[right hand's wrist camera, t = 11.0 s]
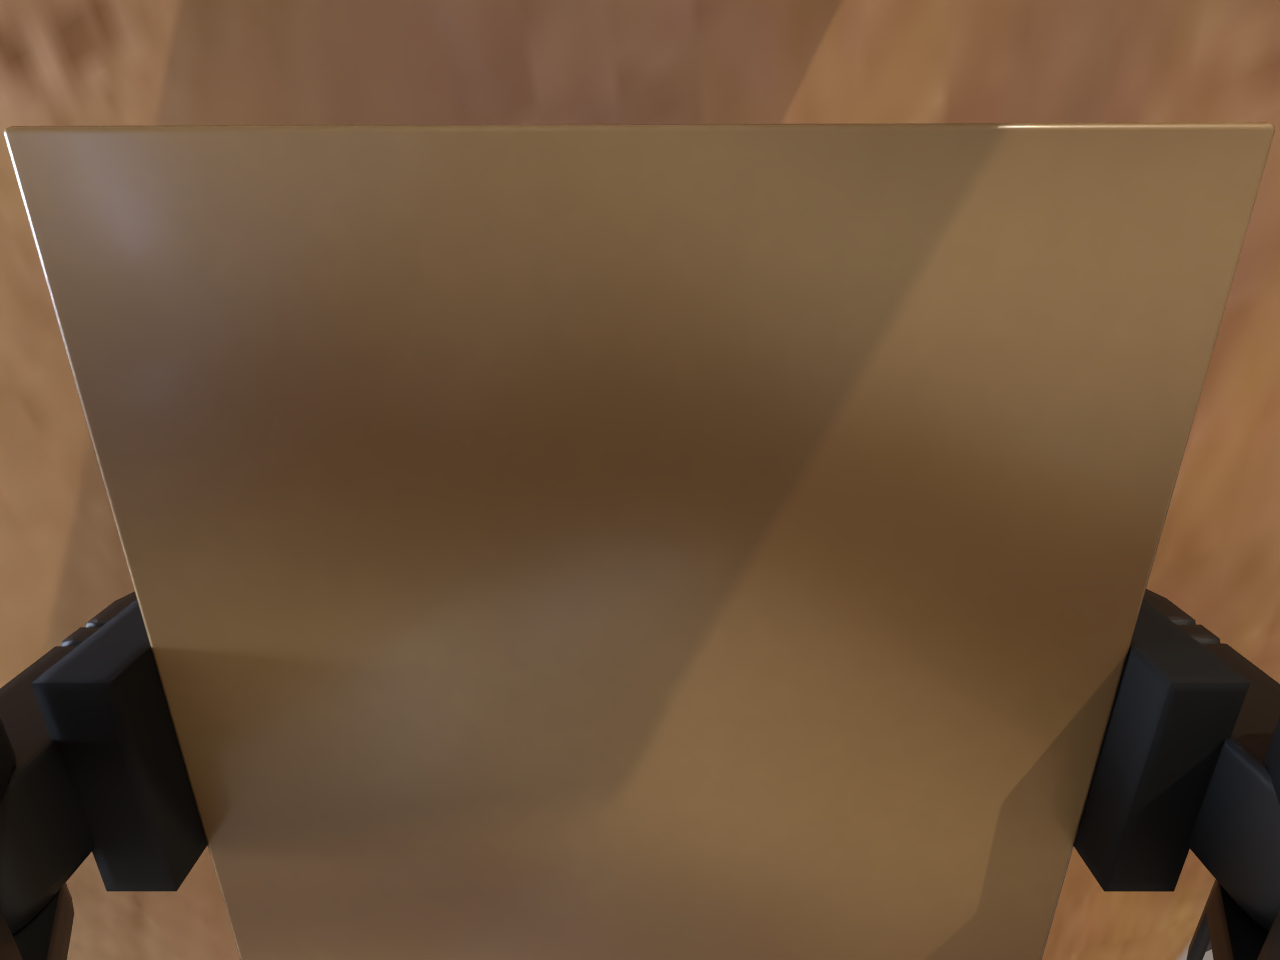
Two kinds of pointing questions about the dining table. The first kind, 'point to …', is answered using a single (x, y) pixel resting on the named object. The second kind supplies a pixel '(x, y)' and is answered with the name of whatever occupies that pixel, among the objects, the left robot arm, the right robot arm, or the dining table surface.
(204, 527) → the slab
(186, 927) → the dining table surface
